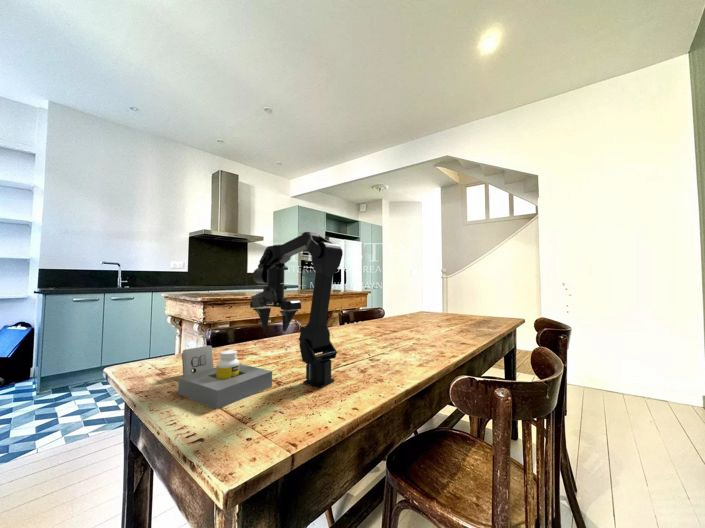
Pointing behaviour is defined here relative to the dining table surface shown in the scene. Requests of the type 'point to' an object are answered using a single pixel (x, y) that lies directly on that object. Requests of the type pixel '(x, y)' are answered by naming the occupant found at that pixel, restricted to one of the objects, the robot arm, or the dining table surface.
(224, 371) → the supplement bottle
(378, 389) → the dining table surface
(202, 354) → the electrical switch
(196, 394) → the socket block
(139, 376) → the dining table surface
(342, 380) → the dining table surface
